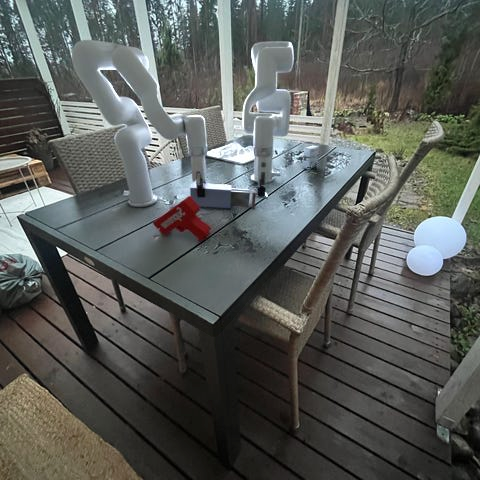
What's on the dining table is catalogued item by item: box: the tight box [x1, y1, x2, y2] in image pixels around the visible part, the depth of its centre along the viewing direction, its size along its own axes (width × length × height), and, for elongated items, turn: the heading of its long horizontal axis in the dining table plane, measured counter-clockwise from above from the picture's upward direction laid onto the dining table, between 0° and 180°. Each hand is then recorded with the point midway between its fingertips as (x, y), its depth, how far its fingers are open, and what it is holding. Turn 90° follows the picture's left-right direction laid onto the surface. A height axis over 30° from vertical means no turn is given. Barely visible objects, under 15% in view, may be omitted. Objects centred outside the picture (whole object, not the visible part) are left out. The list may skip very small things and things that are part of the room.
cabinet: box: [189, 182, 232, 211], centre depth 115 cm, size 17×6×9 cm, turn 90°
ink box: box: [301, 144, 320, 170], centre depth 160 cm, size 8×5×12 cm, turn 134°
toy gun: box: [152, 195, 212, 243], centre depth 96 cm, size 18×4×15 cm
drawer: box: [230, 187, 269, 210], centre depth 116 cm, size 21×5×7 cm, turn 90°
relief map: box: [205, 141, 254, 165], centre depth 184 cm, size 27×35×5 cm
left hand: (202, 193), depth 115 cm, fingers closed on cabinet, 5 cm apart
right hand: (261, 195), depth 115 cm, fingers closed
